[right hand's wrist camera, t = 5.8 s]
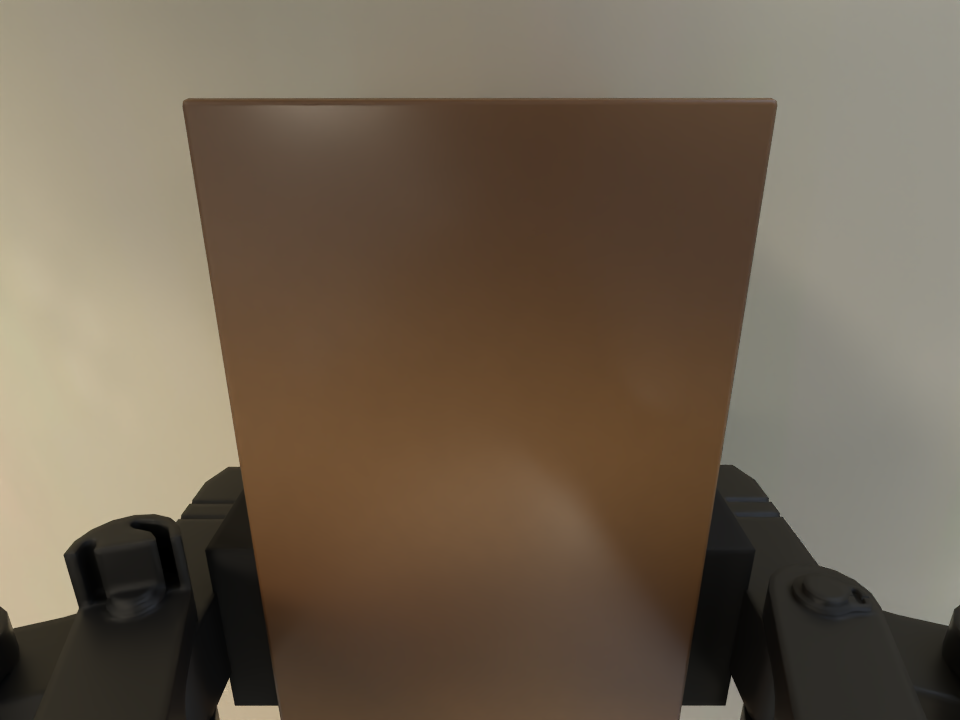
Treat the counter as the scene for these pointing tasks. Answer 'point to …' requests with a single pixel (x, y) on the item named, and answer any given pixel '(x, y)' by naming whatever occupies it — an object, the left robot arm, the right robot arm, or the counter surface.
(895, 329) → the counter surface
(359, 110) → the bar
